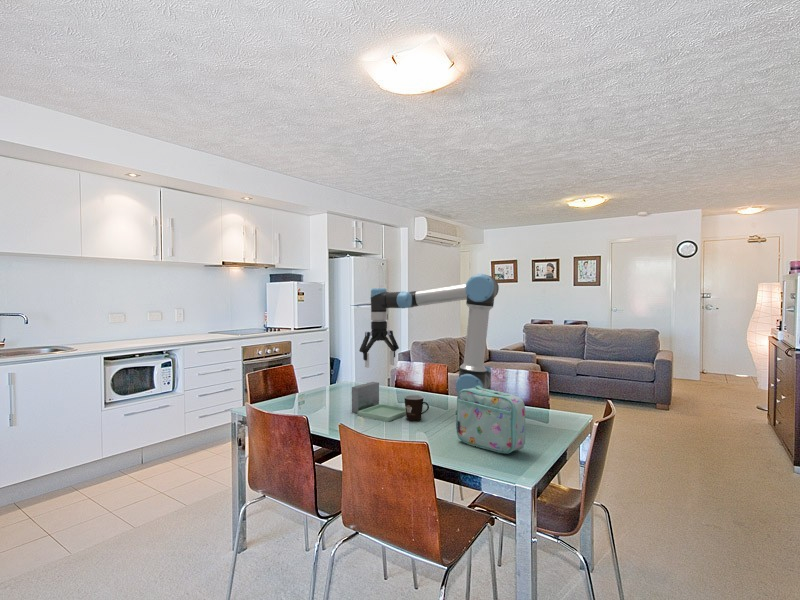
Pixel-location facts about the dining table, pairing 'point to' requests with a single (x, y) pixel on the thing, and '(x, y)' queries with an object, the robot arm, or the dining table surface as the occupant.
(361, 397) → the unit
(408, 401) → the coffee mug
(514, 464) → the dining table surface
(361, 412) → the tray
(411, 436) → the dining table surface
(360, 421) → the dining table surface
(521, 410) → the lunch box
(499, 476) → the dining table surface
